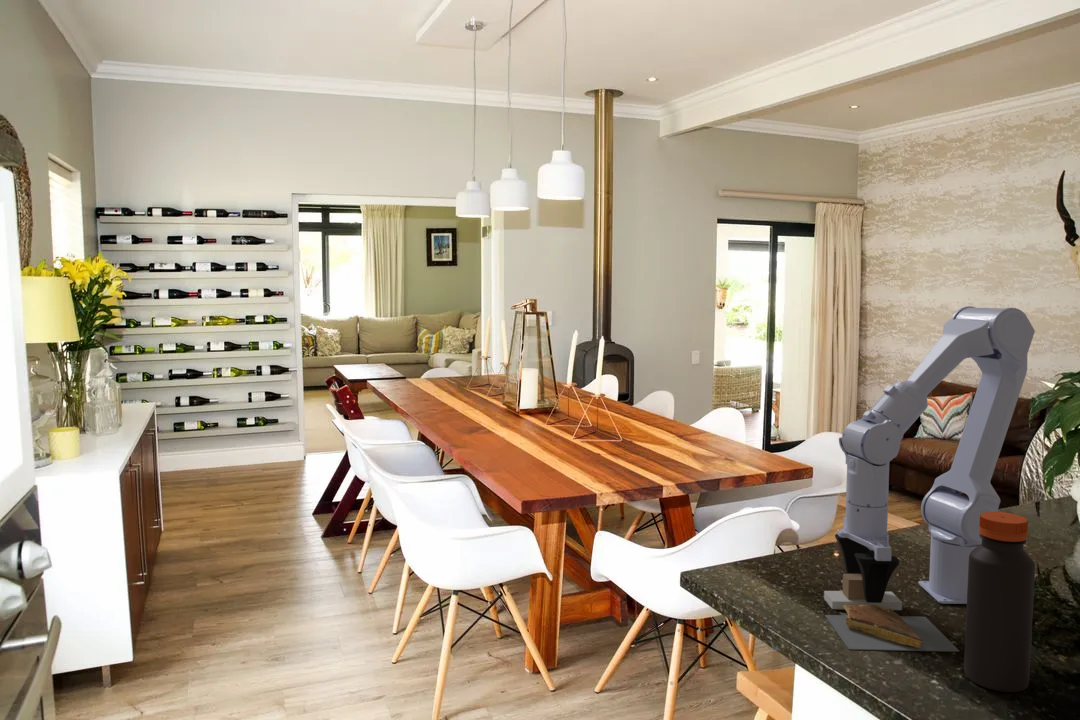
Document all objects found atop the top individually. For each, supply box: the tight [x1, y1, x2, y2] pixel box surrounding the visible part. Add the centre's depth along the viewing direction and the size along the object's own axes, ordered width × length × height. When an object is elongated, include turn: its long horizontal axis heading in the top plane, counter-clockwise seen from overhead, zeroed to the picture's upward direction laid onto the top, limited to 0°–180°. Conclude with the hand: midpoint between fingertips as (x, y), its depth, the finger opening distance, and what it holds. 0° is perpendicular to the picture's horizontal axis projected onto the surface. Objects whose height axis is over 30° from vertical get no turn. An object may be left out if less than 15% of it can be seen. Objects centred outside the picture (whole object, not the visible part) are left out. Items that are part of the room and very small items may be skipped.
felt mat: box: [824, 614, 961, 653], centre depth 106 cm, size 14×10×1 cm
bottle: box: [963, 511, 1036, 693], centre depth 93 cm, size 7×7×20 cm
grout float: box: [823, 573, 903, 611], centre depth 116 cm, size 10×4×4 cm, turn 87°
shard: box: [843, 604, 923, 648], centre depth 106 cm, size 11×8×2 cm
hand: (864, 591), depth 116 cm, fingers open, 7 cm apart
